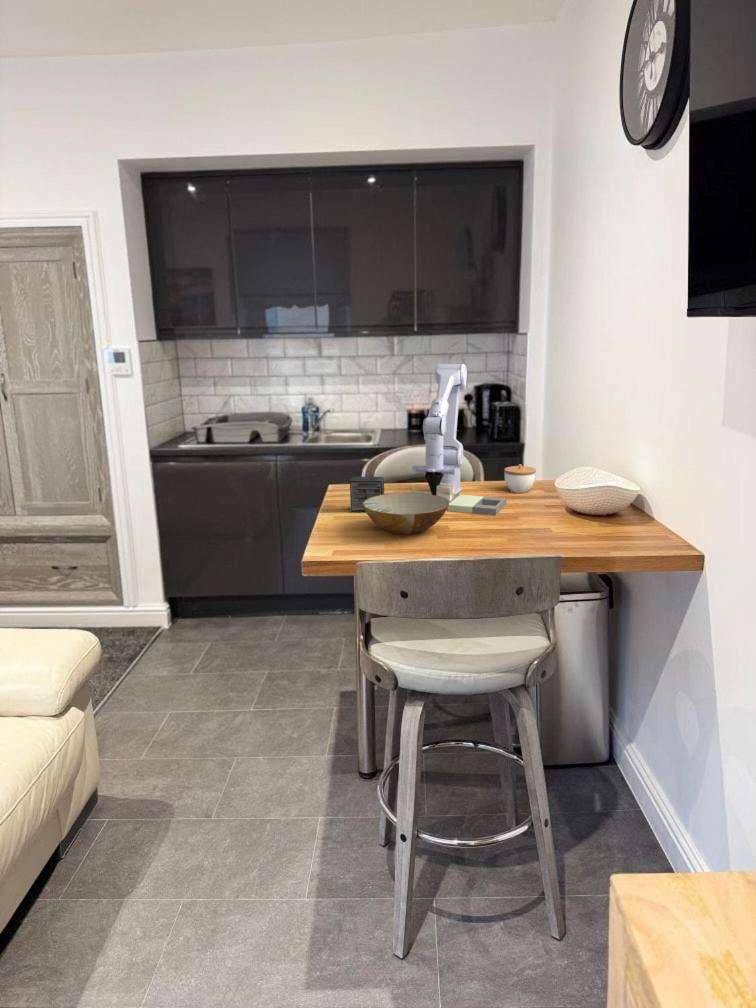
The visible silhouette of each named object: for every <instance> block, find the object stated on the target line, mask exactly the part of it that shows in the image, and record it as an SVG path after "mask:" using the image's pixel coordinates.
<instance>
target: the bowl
mask: <svg viewBox="0 0 756 1008" xmlns="http://www.w3.org/2000/svg"><path fill="white" fill-rule="evenodd" d="M362 506H363V508H364V510H365V511H366V512H365V513H366V515H368V517H369V519H370V520H371V521H372V522H373V523H375V524H376V525H377V526H378V527H380V528H382V529H384V530H385V531H387V532H389V533H391V534H394V535H395V534H396V535H405V536H406V535H408V536H409V535H417V534H420V533H423V532H424V531H426V530H428V529H429V528H431V527H433V526H434V525H435V524H437V523H438V521H440V520H441V519H442V517H443V516H444V515H445V514H446V512H447V511H446V510H447V508H448V506H449V501H448V500H447V499H445V498H443V497H440V496H436V495H432V494H425V493H411V492H408V491H407V492H391V493H384V494H382V495H377V496H373V497H370V498H368V499H366V500H364V501H363V503H362Z"/></svg>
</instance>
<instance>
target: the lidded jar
mask: <svg viewBox="0 0 756 1008" xmlns="http://www.w3.org/2000/svg"><path fill="white" fill-rule="evenodd" d="M536 471H537V469H536V468H534V467H531V466H526V465H525V466H524V465H522V464H520V463H519V464H518V465H512V466H508V467H505V468H504V481H505V486H507V488H508V489H509V490H510V492H512V493H516V492H517V493H518V494H519V493H520V494H521V493H522V494H524V493H528V492H529V490H530V489H531V488H532V487H533V486H534V484H535V481H536Z"/></svg>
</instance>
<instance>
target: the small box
mask: <svg viewBox="0 0 756 1008" xmlns="http://www.w3.org/2000/svg"><path fill="white" fill-rule="evenodd" d="M349 492H350V493H349V494H350V513H366V511H365V510H364V508H363V506H362V503H363V501H364V500H366V499H368V498H370V497H373V496H377V495H382V494H385V477H384V476H352V477H351V478H350V479H349Z"/></svg>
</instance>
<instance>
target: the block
mask: <svg viewBox="0 0 756 1008" xmlns="http://www.w3.org/2000/svg"><path fill="white" fill-rule="evenodd" d="M437 496H440V497H443V498H445V499H447V500H448V501H451V500H452V499H453V498H454V484H443V483H441V484H439V485H438V486H437Z"/></svg>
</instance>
